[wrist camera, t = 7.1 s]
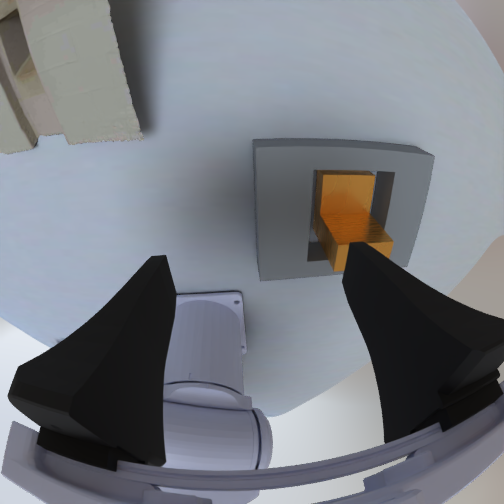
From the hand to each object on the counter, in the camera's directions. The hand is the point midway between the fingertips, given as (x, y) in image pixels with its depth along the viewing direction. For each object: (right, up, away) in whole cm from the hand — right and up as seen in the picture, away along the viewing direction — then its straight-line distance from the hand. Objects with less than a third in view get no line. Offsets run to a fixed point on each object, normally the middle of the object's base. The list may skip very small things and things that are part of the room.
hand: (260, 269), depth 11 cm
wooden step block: (+6, +5, +9) cm, 12 cm away
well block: (+6, +4, +9) cm, 12 cm away
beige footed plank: (-14, +14, +1) cm, 21 cm away
